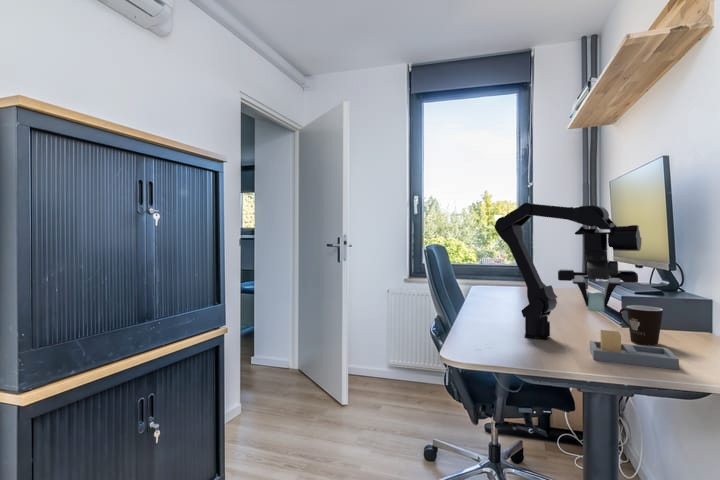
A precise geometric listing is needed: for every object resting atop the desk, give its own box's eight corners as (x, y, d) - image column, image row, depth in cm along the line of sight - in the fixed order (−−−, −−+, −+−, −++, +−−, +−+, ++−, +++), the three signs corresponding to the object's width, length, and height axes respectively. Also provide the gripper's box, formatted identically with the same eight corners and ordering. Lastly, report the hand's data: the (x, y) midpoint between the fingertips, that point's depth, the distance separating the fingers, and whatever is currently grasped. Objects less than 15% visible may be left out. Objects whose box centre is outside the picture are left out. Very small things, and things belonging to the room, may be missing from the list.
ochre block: (602, 352, 99) (602, 333, 99) (600, 348, 103) (600, 329, 103) (621, 354, 97) (621, 335, 97) (618, 350, 101) (618, 331, 101)
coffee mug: (669, 347, 108) (669, 311, 108) (634, 345, 110) (634, 310, 109) (647, 336, 119) (647, 304, 119) (616, 335, 121) (616, 303, 121)
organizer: (593, 359, 97) (593, 350, 97) (589, 349, 106) (589, 340, 106) (678, 369, 90) (678, 359, 90) (667, 357, 99) (667, 348, 99)
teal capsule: (588, 311, 108) (588, 293, 108) (587, 308, 111) (586, 291, 111) (605, 312, 106) (605, 293, 106) (603, 309, 109) (603, 291, 109)
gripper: (558, 251, 105) (559, 309, 105) (642, 251, 97) (643, 314, 97) (557, 250, 115) (558, 303, 115) (633, 250, 107) (634, 306, 107)
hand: (596, 306), depth 109 cm, fingers closed on teal capsule, 4 cm apart
